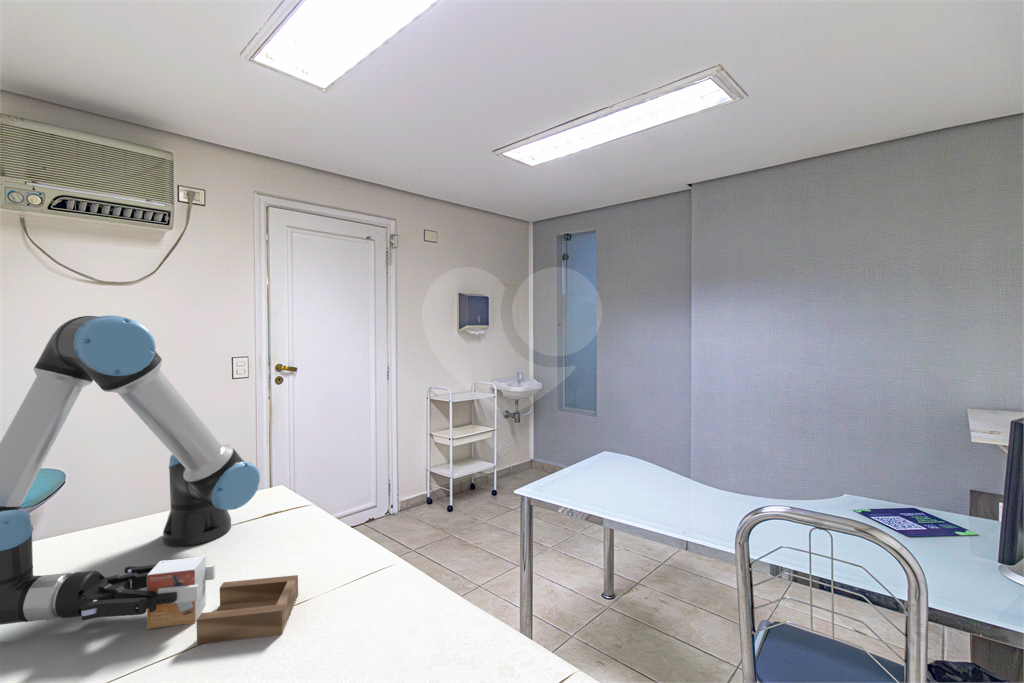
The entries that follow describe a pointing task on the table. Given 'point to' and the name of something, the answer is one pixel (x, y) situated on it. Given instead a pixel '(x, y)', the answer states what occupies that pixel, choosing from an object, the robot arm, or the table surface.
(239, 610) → the rack
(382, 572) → the table surface
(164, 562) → the small box
